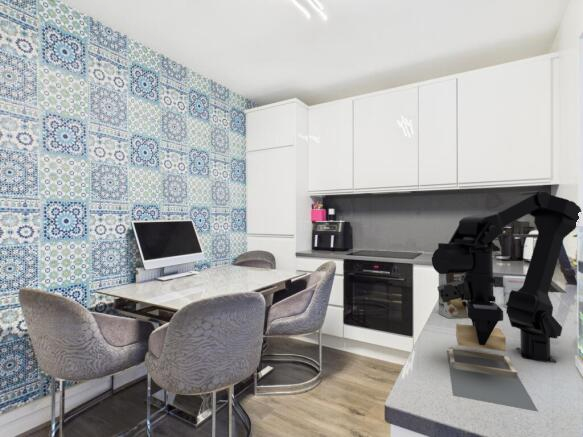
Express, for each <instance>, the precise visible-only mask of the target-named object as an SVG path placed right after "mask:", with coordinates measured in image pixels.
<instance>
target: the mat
mask: <svg viewBox="0 0 583 437" xmlns="http://www.w3.org/2000/svg"><path fill="white" fill-rule="evenodd" d="M446 355H447V360H448V362H447V363H448V369H449V376H450V382H451V389H452V390H451V391H452V395H453V396H454V397H457V398H458V397H459V398H462V399H463V398H465V399H469V400H475V401H480V402H485V403H492V404H496V405H500V406H506V407H510V408H511V407H513V408H518V409H522V410H527V411H528V410H529V411H533V412H539V410H538V409H537V407H536V405H535V403H534V401H533V399H532V398H531V396H530V394H529V392H528V390H527V389H526V388H525V386H524V383H523V382H522V380H521V379H520V377H519V375H518V374H517V378H511V377H504V376H498V375H491V374H485V373H479V372H472V371H466V370H459V369H453V368H451V363H450V357H449V350H446ZM454 360H455V362H459V363H466V364H472V365H479V366H486V367H493V368H499V369H506V370H508V368H507V366H506V364H505V362H504V361H500V360H492V359H485V358H478V357H471V356H464V355H457V354H454Z"/></svg>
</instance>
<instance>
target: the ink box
mask: <svg viewBox="0 0 583 437" xmlns="http://www.w3.org/2000/svg"><path fill="white" fill-rule="evenodd" d="M525 277H526V276H519V275H518V276H517V275H503V276H502V285H503V288H502V292H503V295H502V296H503V306H504V308H506V310H507V306H506V303H507V302H508V299H509V294H510V292H511V291H512V290H514V291H518V290H519V289H520V288H522V287H523V284H524V281H525Z"/></svg>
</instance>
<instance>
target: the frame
mask: <svg viewBox="0 0 583 437" xmlns="http://www.w3.org/2000/svg"><path fill="white" fill-rule="evenodd" d="M448 351H449V357H450V363H451V368H453V369H459V370H466V371H472V372H479V373H485V374H491V375H498V376H504V377H511V378H517V375H518V371H517V370H516V368H515V366H514V364H513V363H512V361H511V359H510V358H509V355H507V354H500V353H493V352H486V351H478V350H472V349H466V348H465V349H463V348H456V347H448ZM454 354H457V355H464V356H471V357H478V358H485V359H492V360H500V361H504V362H505V364H506V366H507V368H508V370H506V369H499V368H493V367H486V366H479V365H472V364H466V363H459V362H455V360H454Z"/></svg>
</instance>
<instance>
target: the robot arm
mask: <svg viewBox="0 0 583 437" xmlns="http://www.w3.org/2000/svg"><path fill="white" fill-rule="evenodd" d="M579 212H582V208H581V207H580V205H577V203H576V202H574V201H572V200H569V199H567V198H563V197H559V196H556V195H552V194H550V193H548V192H547V191H543V190H536V191H535V190H534V191H525V192H523V193H521V194H519V196H517V197H514V198H512V199H511V200H509V201H507V202H506V203H504V204H501V205H500V206H497V207H495V208H493V209H492V210H489V211H487V212H484V213H483V212H482V213H478V214H473V215H469V216H465V217H463V218H461V219H460V220H459V222H458V226H457V228H456V230H455V231H454V232H453V235H452V236H451V238H450V239H449V241H448V242H438V243H437V248H436V249H435V250H434V252H433V254H432V257H431V264H432V267H433V269H434V270H435V271H436V272H437V273H438V274H439V273H440V274H451V273H464V274H463V275H462V280H460V281H455V282H451V283H448V284H444V285H440V286H439V285H438V286H437V291H438V295H439V294H440V296H441V299H442V301H443V302H444V303H445V302H449V301H450V300H454V299H458V298H461V300H466V302H462V304H463V306H464V307H465V308H466V312H467V313H466V314H467V316H468V318H467V319H470V320H471V324H472V326H475V329H476V333H477V338H478V342H479V345H485V344H486V342H487V340H488V338H489V337H490V335H491V333H492V331H493V329H494V328H496V326H497V324H498V323H499V322H502V321H504V311H503V309H502V308H501V307H500V306H499V305H498V304H497V303H496V296H495V295H494V284H495V283H496V278H495V277H494V263H493V259H494V258H493V252H500V251H501V248H500V247H499V246H498V245H497V244H495V242H493V241H494V240H496V239H497V238H498V237H500V236H501V235H502V234H503V233H504V228H506V226H508V225H510V224H513V223H514V222H515V221H517V220H520V219H521V218H524V217H525V216H527V215H530V216H531V217H533V218H534V220H533V223H534V226H535V228H536V230H537V237H536V241H535V244H534V247H533V251H532V254H531V257H530V261H529V263H528V268H527V271H526V275H525V276H524V277H525V281H524V284H523V287H522V288H520V289H519V290H518V291H514V290H512V291H511V292H510V294H509V299H508V302H507V303H506V306H507V309H506V315H507V317H508V321H509V323H510V325H511V327H513V328H515V329H519V330H520V332H519V333H520V347H516V348H515V349H516V350H517V352H518V353H519V355H520V356H521V358H522V359H525V360H532V361H540V362H548V363H554V364H555V363H557V361H556V359H555V358H554V357H553V356H552V355H551V354H552V352H551V351H552V350H551V339H558V337H562V336H561V335H562V331H563V326H562V325H561V324H560V323H559V322H558V320H557V319H556V318H555V317H554V316H553V311H554V306H553V303H552V301H551V298H550V296H549V292H550V288H551V284H552V280H553V278H554V273H555V270H556V267H557V263H558V259H559V256H560V253H561V249H562V245H563V243H564V239H565V237H567V236H569V235H570V234H571V233H572V232H573V231H574V230H576V228H577V226H576V222H577V220H578V219H579V216H578V213H579ZM579 220H580V219H579Z"/></svg>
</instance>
